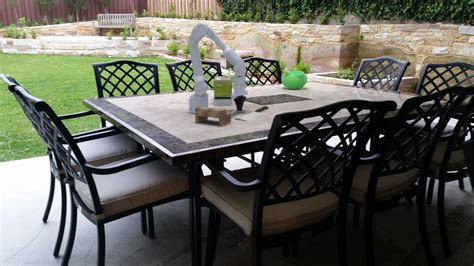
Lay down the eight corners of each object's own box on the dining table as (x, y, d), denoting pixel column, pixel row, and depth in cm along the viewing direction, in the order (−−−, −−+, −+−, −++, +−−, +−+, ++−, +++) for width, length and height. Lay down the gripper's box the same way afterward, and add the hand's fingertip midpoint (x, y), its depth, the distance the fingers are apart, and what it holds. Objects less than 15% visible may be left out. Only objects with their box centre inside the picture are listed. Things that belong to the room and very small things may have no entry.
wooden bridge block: (195, 122, 178) (195, 107, 176) (205, 119, 185) (204, 104, 183) (222, 126, 172) (221, 111, 170) (230, 122, 179) (230, 107, 177)
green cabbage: (307, 87, 283) (308, 67, 279) (305, 91, 267) (306, 69, 263) (282, 86, 287) (282, 66, 283) (279, 90, 271) (280, 69, 267)
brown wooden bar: (220, 120, 185) (220, 115, 185) (230, 114, 198) (230, 109, 198) (228, 120, 184) (228, 115, 184) (237, 114, 197) (237, 110, 196)
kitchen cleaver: (253, 120, 180) (234, 115, 185) (252, 124, 181) (233, 119, 185) (278, 109, 207) (261, 105, 211) (278, 112, 208) (261, 108, 212)
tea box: (215, 101, 231) (214, 76, 228) (232, 101, 231) (232, 76, 228) (213, 106, 217) (213, 79, 213) (231, 106, 217) (231, 79, 213)
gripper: (239, 86, 188) (239, 114, 192) (253, 82, 200) (252, 108, 204) (227, 85, 191) (227, 112, 195) (240, 81, 204) (240, 107, 207)
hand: (239, 110), depth 200 cm, fingers closed
